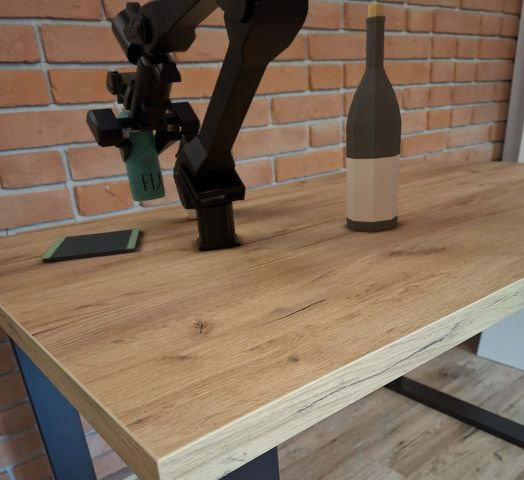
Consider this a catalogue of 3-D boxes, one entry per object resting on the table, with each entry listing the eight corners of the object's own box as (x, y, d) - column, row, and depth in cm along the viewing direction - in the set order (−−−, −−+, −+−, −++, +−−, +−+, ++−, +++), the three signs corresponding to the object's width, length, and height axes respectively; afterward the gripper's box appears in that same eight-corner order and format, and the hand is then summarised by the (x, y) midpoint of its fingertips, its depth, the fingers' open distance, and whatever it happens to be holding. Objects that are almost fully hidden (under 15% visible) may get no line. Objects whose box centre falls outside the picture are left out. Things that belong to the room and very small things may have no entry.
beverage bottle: (145, 210, 93) (119, 87, 84) (127, 209, 97) (101, 92, 89) (174, 203, 96) (153, 85, 88) (156, 202, 101) (133, 90, 93)
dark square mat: (135, 251, 79) (134, 247, 79) (42, 262, 78) (41, 258, 78) (140, 231, 92) (139, 227, 92) (61, 240, 90) (60, 236, 90)
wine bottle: (346, 232, 80) (345, 3, 66) (346, 221, 87) (346, 12, 73) (399, 230, 78) (409, -4, 65) (395, 219, 85) (404, 5, 72)
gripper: (183, 49, 87) (166, 121, 100) (75, 52, 78) (72, 130, 91) (211, 97, 85) (190, 164, 98) (103, 106, 76) (96, 179, 89)
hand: (138, 158), depth 94 cm, fingers closed on beverage bottle, 5 cm apart
